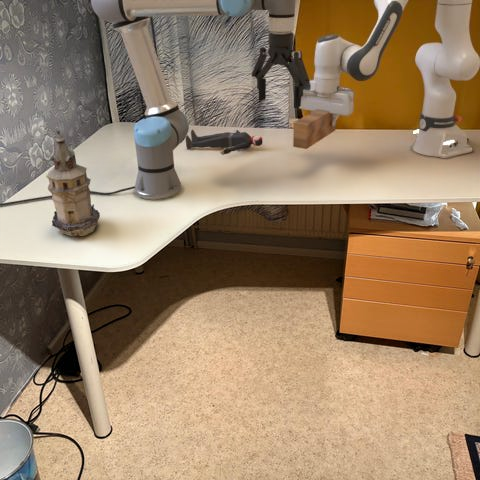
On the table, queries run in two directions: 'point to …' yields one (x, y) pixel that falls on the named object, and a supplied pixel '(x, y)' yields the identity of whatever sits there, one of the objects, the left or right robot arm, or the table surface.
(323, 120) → the bar
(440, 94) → the right robot arm
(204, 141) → the toy
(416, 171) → the table surface
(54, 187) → the miniature building
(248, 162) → the table surface
